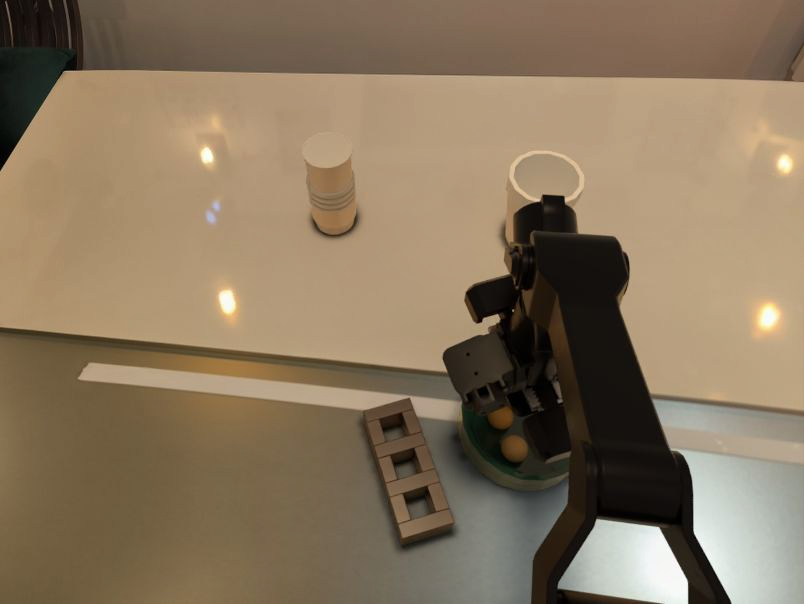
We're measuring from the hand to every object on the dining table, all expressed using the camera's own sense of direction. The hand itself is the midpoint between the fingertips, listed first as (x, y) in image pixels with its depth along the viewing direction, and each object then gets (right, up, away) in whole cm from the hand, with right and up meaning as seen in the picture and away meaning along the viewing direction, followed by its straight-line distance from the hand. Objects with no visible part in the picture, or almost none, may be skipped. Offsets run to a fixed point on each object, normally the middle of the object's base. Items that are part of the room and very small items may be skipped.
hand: (513, 392), depth 67 cm
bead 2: (+1, -7, +2) cm, 7 cm away
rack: (-12, -10, +4) cm, 16 cm away
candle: (-20, +21, +26) cm, 39 cm away
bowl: (+2, -6, +6) cm, 9 cm away
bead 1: (0, -4, +5) cm, 6 cm away
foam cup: (+8, +18, +22) cm, 29 cm away
